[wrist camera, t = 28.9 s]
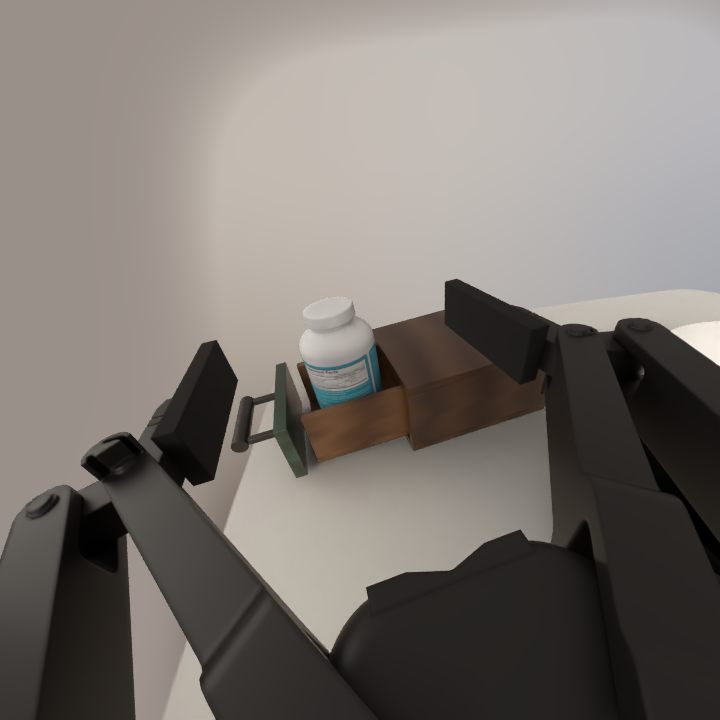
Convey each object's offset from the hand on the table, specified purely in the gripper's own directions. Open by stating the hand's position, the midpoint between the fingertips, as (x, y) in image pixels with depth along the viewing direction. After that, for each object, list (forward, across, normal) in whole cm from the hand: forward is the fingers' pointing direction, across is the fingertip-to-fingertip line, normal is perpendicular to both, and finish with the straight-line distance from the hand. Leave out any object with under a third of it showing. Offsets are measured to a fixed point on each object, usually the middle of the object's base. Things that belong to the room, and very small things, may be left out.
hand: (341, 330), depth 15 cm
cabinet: (+10, +13, -18) cm, 24 cm away
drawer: (+10, -3, -17) cm, 19 cm away
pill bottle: (+10, 0, -16) cm, 18 cm away
